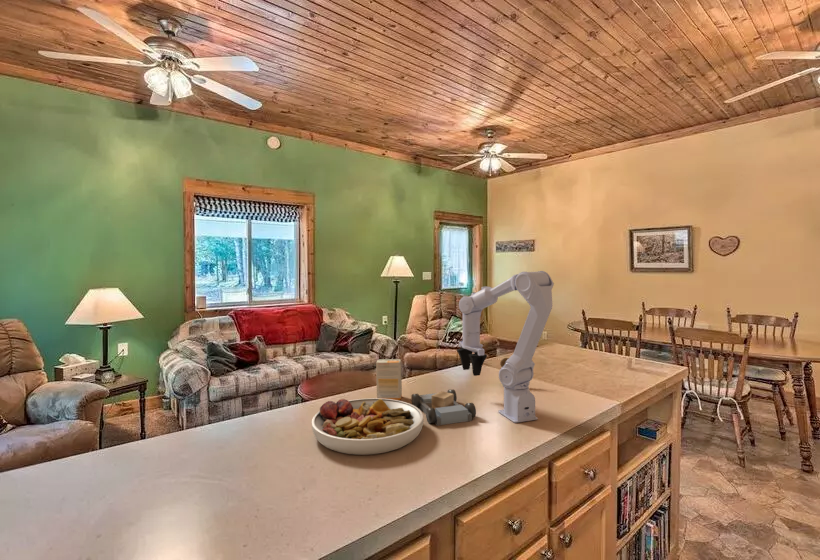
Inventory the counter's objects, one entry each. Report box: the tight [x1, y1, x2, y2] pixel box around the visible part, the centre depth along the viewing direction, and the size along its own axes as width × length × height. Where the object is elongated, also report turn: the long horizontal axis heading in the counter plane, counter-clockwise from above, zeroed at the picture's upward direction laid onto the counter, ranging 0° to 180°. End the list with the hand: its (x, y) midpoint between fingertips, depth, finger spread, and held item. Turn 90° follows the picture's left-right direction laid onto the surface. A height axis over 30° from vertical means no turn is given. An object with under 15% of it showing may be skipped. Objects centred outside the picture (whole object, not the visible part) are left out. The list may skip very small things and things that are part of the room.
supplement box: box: [375, 358, 403, 401], centre depth 140 cm, size 8×5×13 cm, turn 84°
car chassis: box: [410, 389, 477, 427], centre depth 127 cm, size 19×14×4 cm
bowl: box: [311, 397, 424, 456], centre depth 111 cm, size 30×30×8 cm
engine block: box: [432, 390, 454, 409], centre depth 127 cm, size 4×6×5 cm
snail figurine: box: [499, 357, 510, 370], centre depth 153 cm, size 5×6×12 cm
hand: (471, 372), depth 137 cm, fingers open, 7 cm apart
